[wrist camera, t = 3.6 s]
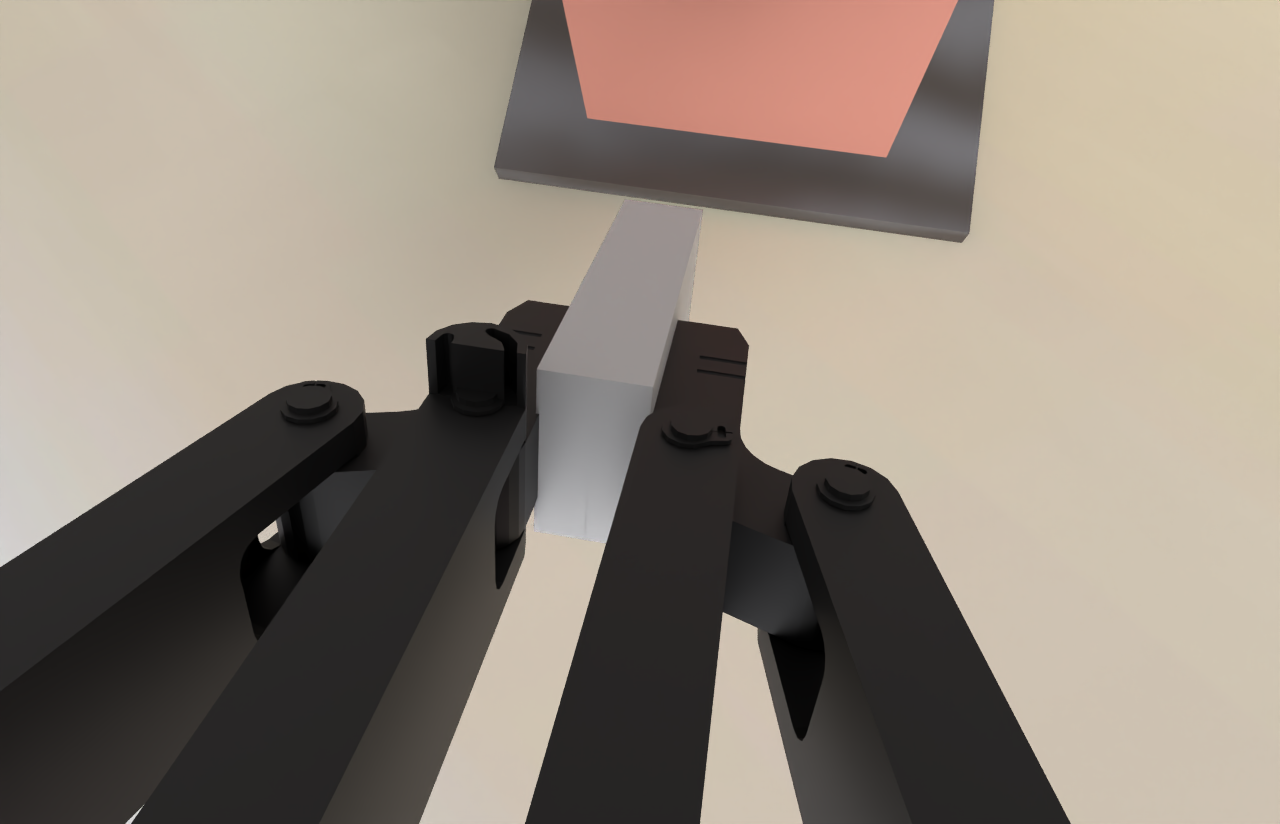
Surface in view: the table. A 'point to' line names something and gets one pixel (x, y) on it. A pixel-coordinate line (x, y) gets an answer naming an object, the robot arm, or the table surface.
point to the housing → (758, 144)
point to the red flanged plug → (758, 66)
